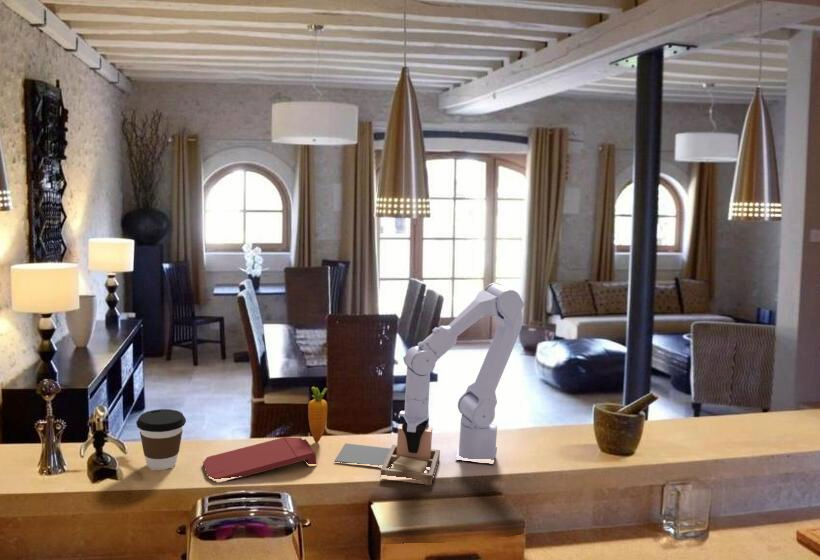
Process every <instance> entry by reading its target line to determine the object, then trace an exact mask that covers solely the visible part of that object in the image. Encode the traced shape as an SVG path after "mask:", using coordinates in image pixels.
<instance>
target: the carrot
mask: <svg viewBox="0 0 820 560" xmlns="http://www.w3.org/2000/svg"><path fill="white" fill-rule="evenodd" d="M311 391H312V393H313V394H311V397H312V398H313V399H312V400H309V402H308V404H307V405H308V406H307V407H308V408H307V409H308V410H307V412H308V413H307V414H308V425H309V429H310V430H309V431H310V433H311V437H312V438H313V440H314V442H315V443H319V442H320V440H321V438H322V437H323V434H324V432H325V428H326V425H327V424H326V423H327V417H328V403H327V401H326V400H325V399H324V397H325V395H326V394H325V393H326V392H327V391H328V388H326V387H324V388H323V390H322V392H320V389H319V388H318V387H315V386H312V387H311Z"/></svg>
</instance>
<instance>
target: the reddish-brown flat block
mask: <svg viewBox="0 0 820 560" xmlns="http://www.w3.org/2000/svg"><path fill="white" fill-rule="evenodd" d="M304 460H305V461H306V462H307V463H308V464H317V465H318V463H317V457H316V451H315V450H314V448H313V447H312V446H311V444H310V443H309V441H308V440H307V439H303V438H302V437H290V436H286V437H280V438H275V439H272V440H268V441H264V442H260V443H257V444H252V445H249V446H248V445H247V446H245V447H241V448H237V449H233V450H229V451H226V452H221V453H218V454H213V455H210V456H207V457H206V458H205V459H204V461H202V463H203V464H202V465H203V468H204V467H205V468H204V470H205V469H206V471H205V473H206V472H207V473H206V475H207V474H208V476H210V477H212V478H214V479H221V478H231V477H239V476H244V477H247V476H246V475H248V476H251V474H252V475H254V474H258V473H262V472H266V471H269V470H272V469H273V470H274V469H276V468H281V467H285V466H288V465H291V464H295V463H298V462H302V461H304ZM305 461H304V462H305ZM306 462H305V463H306ZM208 476H207V477H208Z"/></svg>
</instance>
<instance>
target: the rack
mask: <svg viewBox="0 0 820 560" xmlns="http://www.w3.org/2000/svg"><path fill="white" fill-rule="evenodd" d="M390 448H391V449H390V451H389V453H388V455H387V457H386V460H385V462H384V464H383V466H382V468H380V476H381V475H387V476H396V477H406V478H412V479H416V480H421V481H422V482H423V483H424V484H425V485H424V486H429V487H430V486H431V487H432V486H433V483H432V479H433V476H434V473H435V470H436V471H437V469H436V467H437V468H438V466H437V464H438V465H439V462H440V453H441V450H440V449H433V448H431V459H426V458H417V457H408V456H402V457H407V458H411V459H416V460H421V461H425V462H427V467H430V470H428V473H422V472H414V471H405V470H397V469H391V467H390V465H391V464H393V463H394V462H395V461H396V460H397V459H398V458H399V457H400V456H399V455H397V444H392V445H391V447H390ZM438 461H439V462H438ZM389 467H390V469H388V468H389ZM435 474H436V473H435ZM434 477H435V476H434ZM433 480H434V479H433Z"/></svg>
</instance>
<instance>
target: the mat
mask: <svg viewBox="0 0 820 560" xmlns="http://www.w3.org/2000/svg"><path fill="white" fill-rule="evenodd" d="M390 449H391V447H389V448H388V447H381V446H371V445H364V444H354V443H347V442H346V443H344V444H343V446H342V448H341V450H340V451H339V452H338V454H337V456H336V457H335V459H334V462H340V463H341V462H342V463H357V464H370V465H378V466H379V465H383V464H384V462H385V460H386V457H387V455H388V453H389V451H390Z"/></svg>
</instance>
